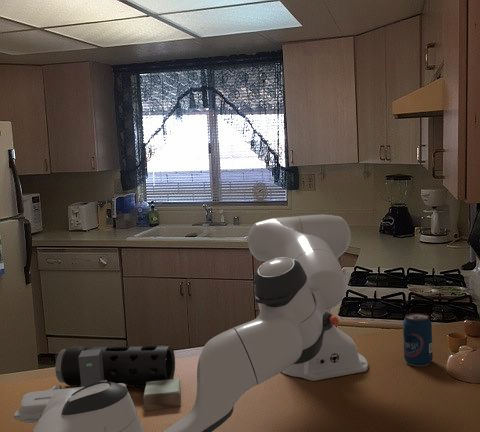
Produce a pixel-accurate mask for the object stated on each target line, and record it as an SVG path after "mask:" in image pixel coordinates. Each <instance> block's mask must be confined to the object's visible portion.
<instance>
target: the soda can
mask: <svg viewBox="0 0 480 432" xmlns="http://www.w3.org/2000/svg"><path fill="white" fill-rule="evenodd" d="M432 327H433V326H432V321H431V320H430V316H429V315H428V314H426V313H422V312H421V313H419V312H415V313H413V312H412V313H407V314H405V316H404V320H403V321H402V337H403V340H402V341H403V358H404V360H405V361H406V363H407V364H408V365H410V366H413V367H427V366H429V365H430V364H431V362H432V360H433V359H434V354H433V353H434V352H433V328H432Z"/></svg>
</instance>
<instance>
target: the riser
mask: <svg viewBox="0 0 480 432" xmlns="http://www.w3.org/2000/svg"><path fill="white" fill-rule="evenodd" d="M144 387H145V388H144V392H143V406H144V411H150V410H151V411H152V410H160V409H171V408H180V407H181V406H182V389H181V388H182V387H181V379H180V378H173V379H170V380H160V381H150V382H146V386H144Z"/></svg>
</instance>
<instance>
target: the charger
mask: <svg viewBox="0 0 480 432" xmlns="http://www.w3.org/2000/svg"><path fill="white" fill-rule="evenodd" d="M78 358H79V369H80V379H81V385H80V387H86V386H88V385H91V384H94V383H97V382H100V381H104V372H103V361H102V350H101V349H95V350H85V351H81V353H80V355H79V357H78Z"/></svg>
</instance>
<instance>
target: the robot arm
mask: <svg viewBox="0 0 480 432" xmlns="http://www.w3.org/2000/svg"><path fill="white" fill-rule="evenodd" d="M351 240H352V233H351V229H350V226H349V224H348V223H347V221H346V220H345V218H343V217H342V216H339V215H332V214H320V213H319V214H306V215H297V216H296V215H295V216H284V217H283V216H282V217H272V218H267V219H264V220H259V221H256V222H254V224H253V225H252V226H251V227H250V229H249V231H248V235H247V245H248V249H249V251H250V253H251V255H252V256H253V257H254V258H255V259H256V260H257V261H261V262H264V263H262V264H260V266H259V267H258V268H257V269H256V270H255V272H254V275H253V294H254V302H256V303H257V306H258V310H259V314H258V316H256V317H255V319H253V320H250V321H248V322H245V323H242V324H239V325H237V326H234V327H232V328H229V329H228V330H225V331H223V332H221V333H219V334H217V335H215V336H213V337H212V338H210V339H209V340H208V341H207V342H206V343H205V345H204V346H203V347H202V349H201V352H200V354H199V357H198V361H197V368H196V395H195V401H194V404H193V406H192V407H191V410H189V412H188V414H186V415H185V416H184V417H182V418H181V419H179V420H178V421H176V422H174V423H172V425H169V427H167V428H165V429H163V431H161V432H213V431H215V430H217V429H218V428H219V427H220V426H222V425H223V424H224V423H226V421H227V420H229V418H230V417H231V416H232V415H233V413H234V409H235V408H234V407H235V404H236V403H237V401H239V399H240V398H241V397H242V396H243V395H244V394H245V393H246V392H247V391H249V390H251V389H252V388H254V387H255V386H258V385H261V384H263V383H264V382H267V381H268V380H270V379H272V378H273V377H275V376H278V375H279V374H280V373H282V374H283V375H287V376H291V377H294V378H295V377H296V378H302V379H304V380H308V381H311V382H312V381H313V382H315V381H320V380H325V379H331V378H335V377H336V378H337V377H342V376H348V375H353V374H357V373H358V374H359V373H365V372H367V370H368V369H369V363H368V361H367V359H366V358H365V357H364V356H363V355H362V354H360V353H359V352H358V348H357V345H356V343H355V340H354V339H353V338H352V337H350V336H349V335H348V334H346V332H343V330H341V329H339V328H338V327H337V326H336V325H338V324H339V323H340V319H339V318H338V317H337V316H336V315H334V314H333V313H330V312H329V310H331V309H334V308H335V307H336V306H338V305H339V304H340V303H341V302H342V301H343V299H344V298H345V297H344V296H345V295H346V289H347V288H346V280H345V279H346V278H345V274H344V272H343V269H342V266H341V264H340V262H339V260H338V259H339V258H340V256H342V255H343V254H344V253H345V252H346V251H347V249H348V248H349V246H350V243H351ZM13 418H14V420H19V422H23V423H25V424H34V423H35V426H33V427H34V428H33V429H32V431H31V432H145V429H144V428H143V425H142V423H141V421H140V420H141V419H140V418H139V415H138V412H137V408H136V406H135V403H134V401H133V398H132V396H131V394H130V392H129V389H128V388H127V386H126V384H123V383H113V382H107V380H106V381H100V382H97V383H94V384H91V385H88V386H86V387H81V386H79V387H78V386H77V387H68V388H62V384H60V385H59V384H58V385H57V384H55V385H53V387H52V388H49V389H46V390H39V391H31V392H30V391H29V392H27V393H25V394H24V395H23V396H22V398H21V401H20V409H17V410H16V411H15V413H14V415H13Z"/></svg>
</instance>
